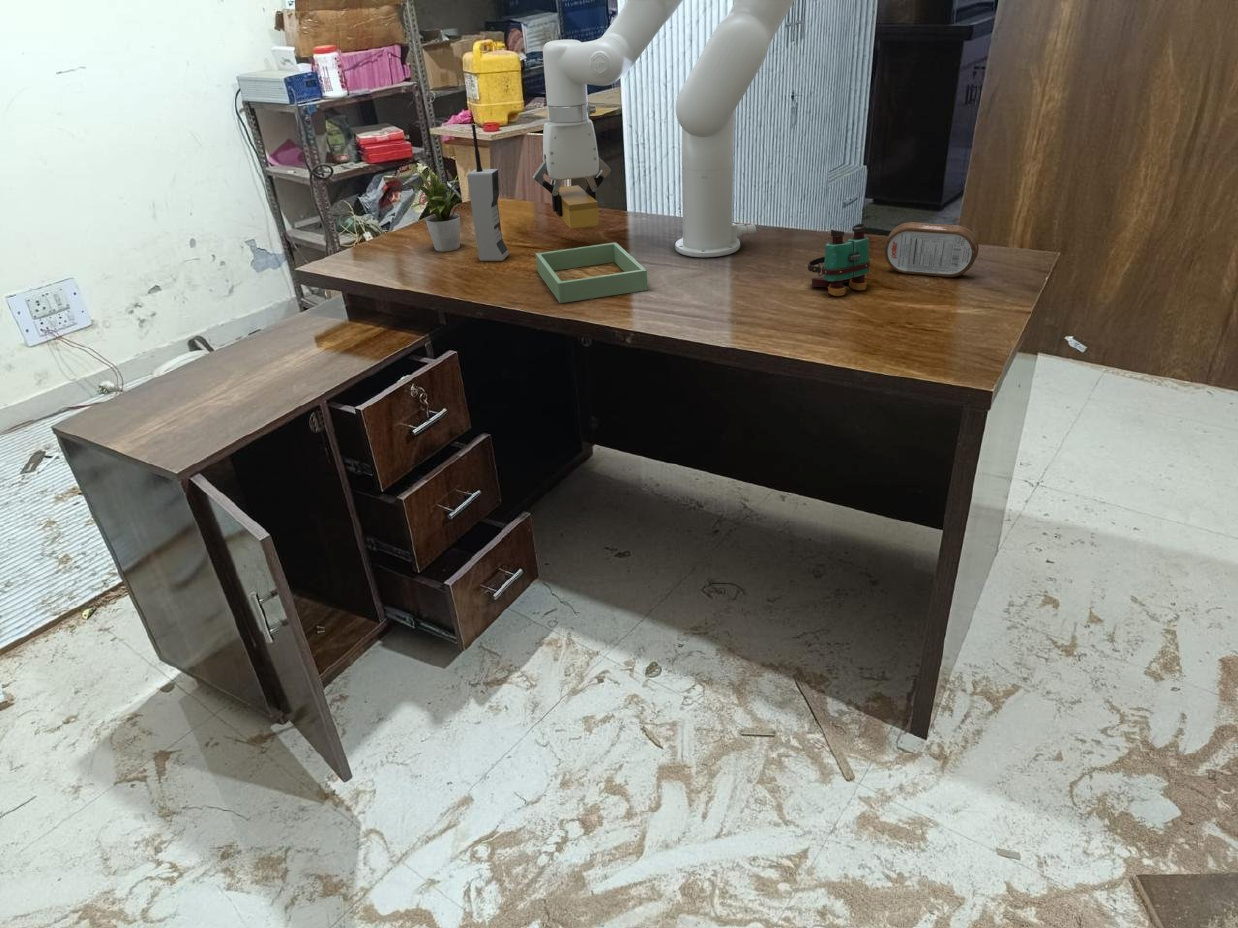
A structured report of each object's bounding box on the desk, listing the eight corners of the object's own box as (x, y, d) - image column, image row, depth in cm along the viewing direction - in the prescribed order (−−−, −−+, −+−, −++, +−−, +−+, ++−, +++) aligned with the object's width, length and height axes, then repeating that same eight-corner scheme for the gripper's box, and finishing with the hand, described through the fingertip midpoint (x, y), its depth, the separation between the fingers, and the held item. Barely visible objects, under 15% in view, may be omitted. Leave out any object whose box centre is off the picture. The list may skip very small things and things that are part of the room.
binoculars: (838, 217, 142) (880, 223, 134) (837, 279, 146) (878, 288, 138) (796, 226, 139) (836, 233, 130) (796, 289, 143) (835, 299, 135)
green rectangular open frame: (617, 260, 160) (616, 242, 158) (647, 290, 145) (646, 270, 143) (537, 272, 157) (535, 253, 155) (560, 303, 141) (558, 283, 139)
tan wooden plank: (579, 207, 172) (578, 185, 169) (598, 225, 159) (597, 201, 157) (553, 210, 170) (551, 188, 168) (570, 228, 158) (568, 205, 156)
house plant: (393, 251, 174) (377, 169, 166) (445, 234, 183) (433, 156, 174) (437, 261, 166) (422, 176, 157) (489, 244, 175) (478, 162, 166)
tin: (974, 275, 142) (982, 225, 138) (972, 281, 140) (981, 230, 135) (883, 267, 148) (888, 220, 144) (880, 273, 145) (885, 224, 141)
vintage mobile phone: (503, 261, 163) (485, 125, 151) (479, 261, 164) (459, 126, 152) (509, 255, 167) (492, 122, 154) (485, 255, 168) (466, 122, 155)
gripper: (607, 108, 160) (611, 204, 169) (518, 116, 156) (528, 213, 166) (618, 113, 154) (622, 212, 163) (526, 121, 150) (535, 223, 159)
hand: (574, 212), depth 164 cm, fingers closed on tan wooden plank, 5 cm apart
